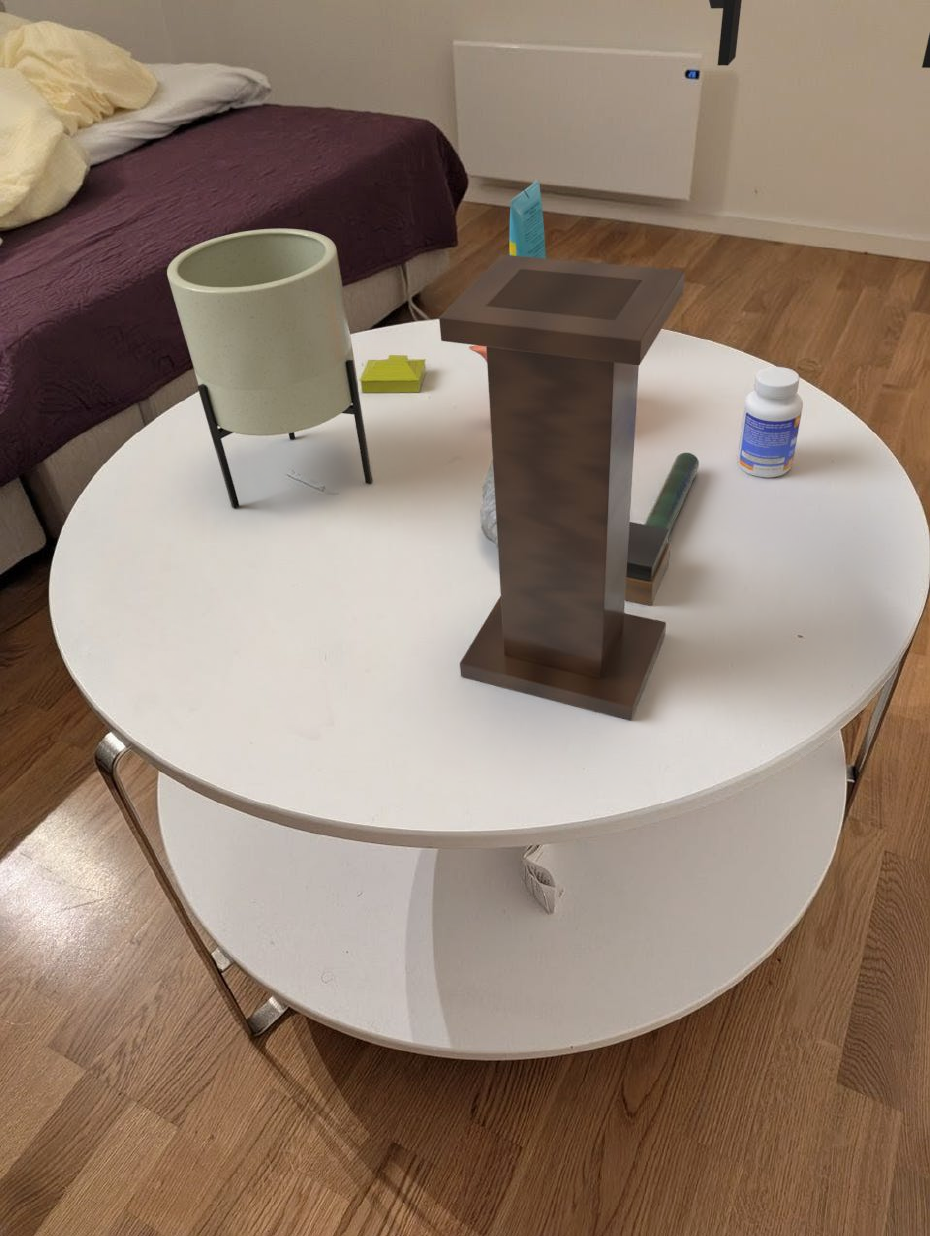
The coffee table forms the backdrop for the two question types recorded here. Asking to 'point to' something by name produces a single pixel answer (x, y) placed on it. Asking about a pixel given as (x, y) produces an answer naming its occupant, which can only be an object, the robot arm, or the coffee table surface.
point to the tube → (527, 224)
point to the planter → (267, 335)
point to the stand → (564, 472)
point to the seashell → (489, 508)
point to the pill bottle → (770, 423)
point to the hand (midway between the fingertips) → (824, 63)
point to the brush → (657, 533)
